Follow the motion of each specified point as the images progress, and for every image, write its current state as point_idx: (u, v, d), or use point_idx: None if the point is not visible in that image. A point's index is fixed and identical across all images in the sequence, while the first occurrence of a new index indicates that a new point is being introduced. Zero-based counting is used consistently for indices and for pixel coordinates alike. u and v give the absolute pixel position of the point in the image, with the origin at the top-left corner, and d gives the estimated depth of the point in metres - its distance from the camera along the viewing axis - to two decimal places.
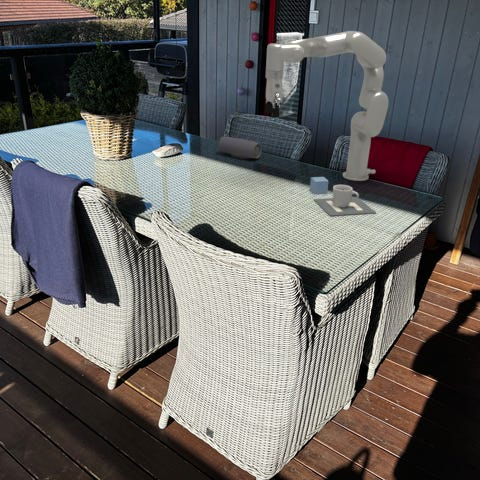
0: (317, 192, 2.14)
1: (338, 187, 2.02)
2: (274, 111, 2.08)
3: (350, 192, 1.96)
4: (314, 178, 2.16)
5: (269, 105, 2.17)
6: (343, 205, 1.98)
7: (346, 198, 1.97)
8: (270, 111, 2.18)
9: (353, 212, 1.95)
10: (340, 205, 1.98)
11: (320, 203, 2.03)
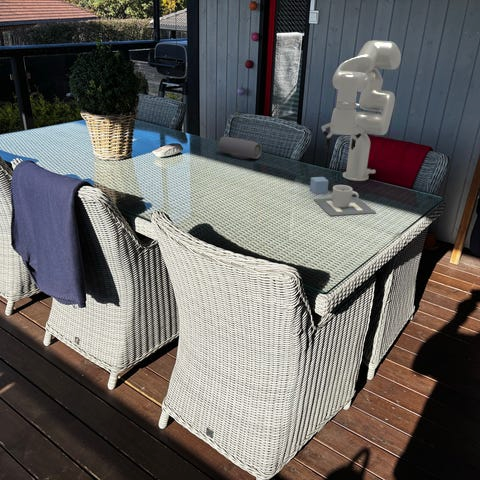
0: (317, 192, 2.14)
1: (338, 187, 2.01)
2: (354, 143, 1.98)
3: (350, 192, 1.96)
4: (314, 178, 2.16)
5: None
6: (343, 205, 1.98)
7: (346, 198, 1.97)
8: None
9: (353, 212, 1.95)
10: (340, 205, 1.98)
11: (320, 203, 2.03)
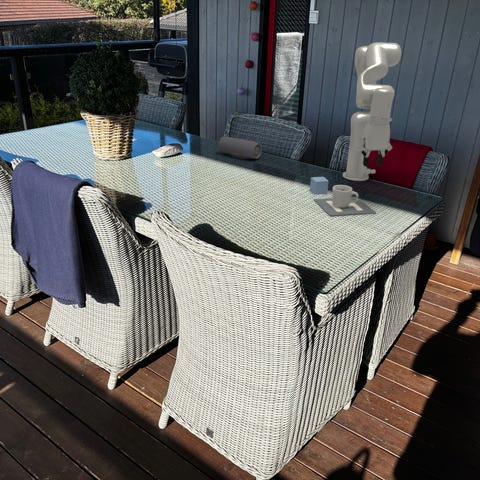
0: (317, 192, 2.14)
1: (338, 187, 2.01)
2: (382, 159, 1.95)
3: (350, 192, 1.96)
4: (314, 178, 2.16)
5: None
6: (343, 205, 1.98)
7: (346, 198, 1.97)
8: None
9: (353, 212, 1.95)
10: (340, 205, 1.98)
11: (320, 203, 2.03)
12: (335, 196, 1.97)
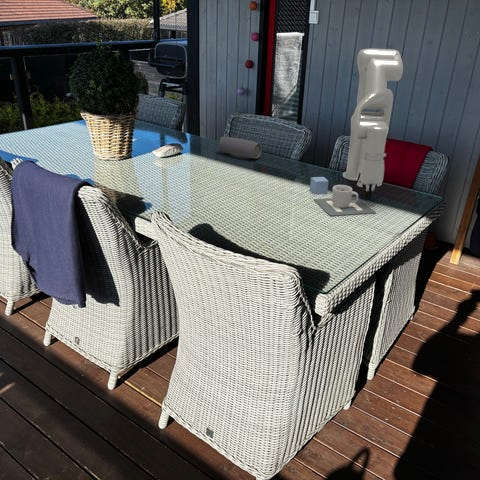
0: (317, 192, 2.14)
1: (338, 187, 2.01)
2: None
3: (350, 193, 1.96)
4: (314, 178, 2.16)
5: None
6: (343, 206, 1.98)
7: (346, 199, 1.96)
8: None
9: (353, 212, 1.95)
10: (340, 206, 1.98)
11: (320, 203, 2.03)
12: (335, 196, 1.97)
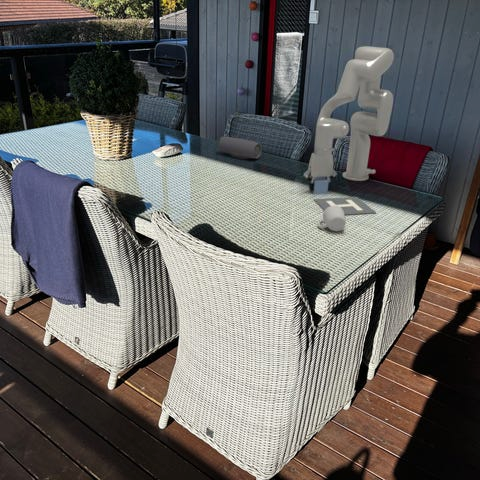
0: (317, 192, 2.14)
1: None
2: (328, 184, 2.16)
3: None
4: None
5: None
6: None
7: None
8: None
9: (353, 212, 1.95)
10: None
11: (320, 203, 2.03)
12: None
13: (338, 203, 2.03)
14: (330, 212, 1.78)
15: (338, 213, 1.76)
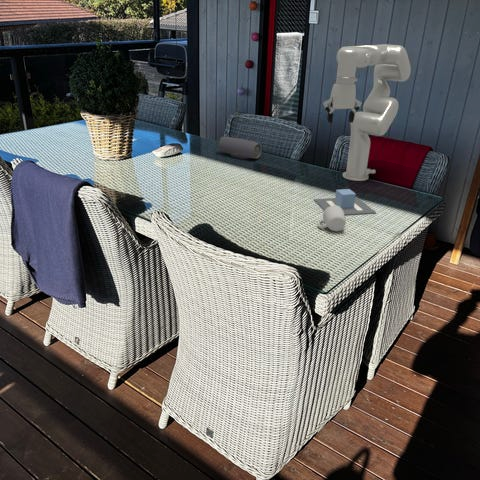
0: (343, 206, 1.98)
1: None
2: (353, 116, 2.08)
3: None
4: (340, 191, 2.00)
5: None
6: None
7: None
8: None
9: (353, 212, 1.95)
10: None
11: (320, 203, 2.03)
12: None
13: None
14: (330, 212, 1.78)
15: (338, 213, 1.76)
